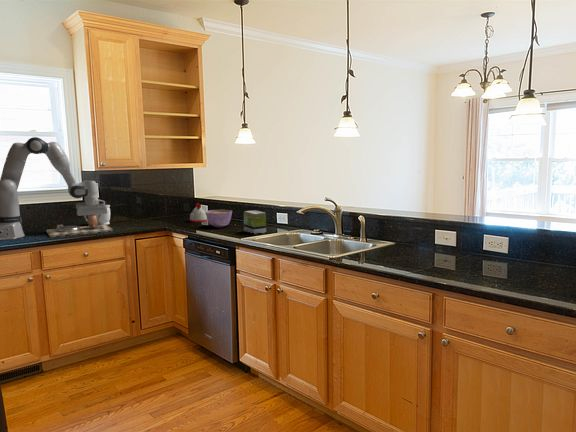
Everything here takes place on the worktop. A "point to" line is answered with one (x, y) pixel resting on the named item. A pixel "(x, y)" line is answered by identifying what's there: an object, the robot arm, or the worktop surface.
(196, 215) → the kitchen timer
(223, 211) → the purple rounded bowl
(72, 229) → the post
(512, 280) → the worktop surface
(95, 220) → the pinkish brown cylinder
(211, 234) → the worktop surface
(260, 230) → the tea box
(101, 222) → the jar
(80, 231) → the board
